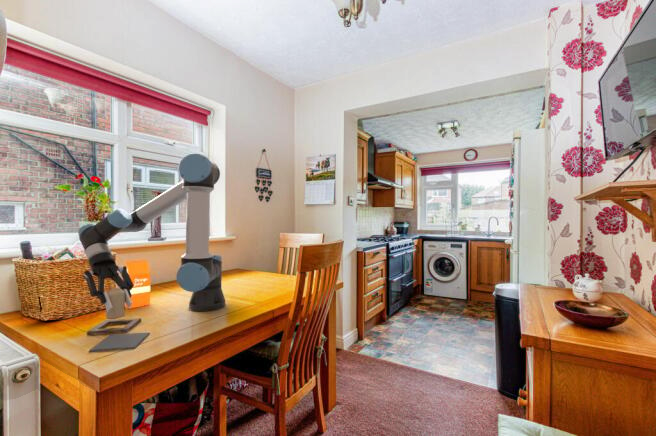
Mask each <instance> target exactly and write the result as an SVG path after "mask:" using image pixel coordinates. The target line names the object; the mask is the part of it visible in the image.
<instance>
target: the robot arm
mask: <svg viewBox="0 0 656 436" xmlns="http://www.w3.org/2000/svg"><path fill="white" fill-rule="evenodd" d="M178 173H179V176H180V177H181V178H182V180H181V181H180V182H178V183H177V184H175V185H173V186H172V187H169V189H166V191H164V192H162V193H161V194H159V195H158V196H156V197H154V198H152V200H150V201H148V202H147V203H145V204H143V205H142V206H140V207H139V208H136V209H135V210H134V211H132V212H129V211H127V210H125V209H123V208H116V209H114V210H113V211H111V212H110V213H108V214H107V215H106V216H105V217H104V218H102V219H101V220H99V221H98V222H97V223H94V222H93V223H92V222H91V223H87V224H84V225H82V226H81V227H80V228H79V229H78V237H79V241H80V243H81V246H82V248H83V250H84V254H85V256H86V259H87V261H88V264H89V266H90V267H89V268H90V269H91V270H85V271H84V273H83V276H82V277H83V278H84V279H85V281H86V283H87V286H88V287H87V288H88V290H89V293H90V294H89V295H90V297H92V298H94V297H97V299H99V301H100V304H101V305H103V304H104V307H105V310H106V309H107V312H110V311H111V310H112V308H113V307H112V304H111V302H110V299H109V296H108V294H107V293H108V292H107V291H106V292H105V279H110V280H111V281H113V282H114V283H115V284H116V285H117V287H119V289H120V288H121V289H122V290H123V291H124V292H125V303H126V305H127V308H126V309H128V308H129V309H131V308H130V307H131V305H132V301H131V296H132V295H131V292H130V290H132V288H133V286H134V284H133V282H132V280H131V278H130V276H129V274H128V272H127V267H126V266H125V265H124V266H121V267H120V266H119V265H117V264H116V261H115V259H114V256H113V254H112V250H111V249H110V246H109V243H108V241H110V240H111V239H112V238H114V237H115V236H116V235H119V234H120V233H137V232H141V231H143V230H145V229H146V227H147V225H149V224H150V223H151V222H153V221H155V220H156V219H158V218H159V217H162V216H163V215H164V214H165V213H168V212H169V211H170V210H172V209H174V208H175V207H177V206H178V205H180V204H182V203H183V202H185V201H186V208H185V209H186V210H185V211H186V213H185V219H186V220H185V253H184V254H183V255H181V257H180V259H181V261H180V267H179V268H178V269H177V271H176V279H175V280H176V283H177V284H178V285H179V287H180V288H181V289H182V290H184V291H186V292H190V293H192V294H191V296H190V300H189V302H188V309H189V310H190V311H194V312H208V311H209V312H210V311H215V310H216V311H217V310H220V309H222V308H224V307H226V298H225V295H224V291H223V289H222V288H223V287H222V271H223V267H222V266H223V261H222V260H223V259H222V256H221V255H220V254H212V253H211V252H210V211H211V210H210V201H211V199H210V197H211V193H212V192H213V191H214V189H215V185H216V183H217V182H218V181H219V179H220V177H221V172H220V167H219V166H218V165H217V163H216V162H215V161H213V160H211V159H210V158H208V157H207V156H206V155H204V154H201V153H194V152H193V153H188V154H186V155H185V156H184V157H182V158H181V160H180V161H179V164H178ZM119 274H120V275H119ZM93 275H94V276H95V277H97V285H96V282H95V280H94V276H93ZM123 280H124V281H123Z"/></svg>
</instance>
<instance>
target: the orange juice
mask: <svg viewBox="0 0 656 436" xmlns="http://www.w3.org/2000/svg"><path fill="white" fill-rule="evenodd" d="M124 266H126V267H127V272H128V274H129V276H130V278H131V280H132V282H133V284H134V286H133V288H132V290H130V292H131V295H132V296H131V301H132V305H131V307H130V308H129V309H133V308H139V307H144V305H145V306H149V305H151V270H150V266H149V262H148V259H143V260H141V259H140V260H130V261H126V262H125V265H124ZM123 281H124V280H123ZM125 309H128V308H127V305H126V303H125Z"/></svg>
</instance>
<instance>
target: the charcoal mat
mask: <svg viewBox="0 0 656 436" xmlns="http://www.w3.org/2000/svg"><path fill="white" fill-rule="evenodd" d="M148 336H150V331H149V332H136V333H135V332H134V333H115V334H108V335H107V336H106V337H105V338H104V339H102V340H101V341H99V342H98V343H96V345H94V346H92V347H91V348H90V349H89V350H88V353H96V352H97V353H98V352H107V351H109V352H111V351H125V350H135V349H136V348H137V347H139V346H140V344H142V342H144V340H146V338H147V337H148Z"/></svg>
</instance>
